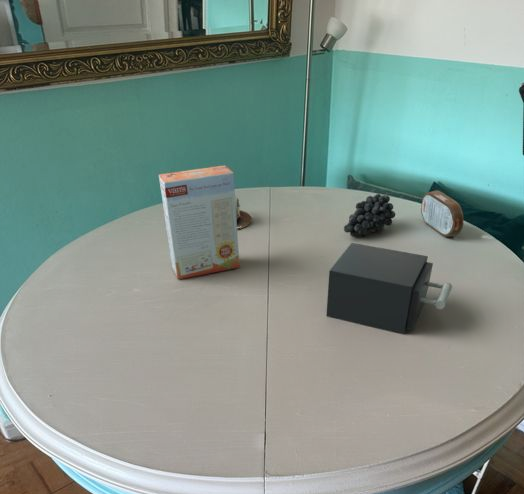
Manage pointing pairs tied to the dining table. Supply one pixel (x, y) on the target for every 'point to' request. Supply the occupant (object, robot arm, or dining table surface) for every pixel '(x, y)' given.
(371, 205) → the fruit
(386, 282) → the drawer cabinet casing
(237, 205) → the skull
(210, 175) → the cracker box
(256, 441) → the dining table surface
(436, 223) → the tin
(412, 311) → the grey drawer
